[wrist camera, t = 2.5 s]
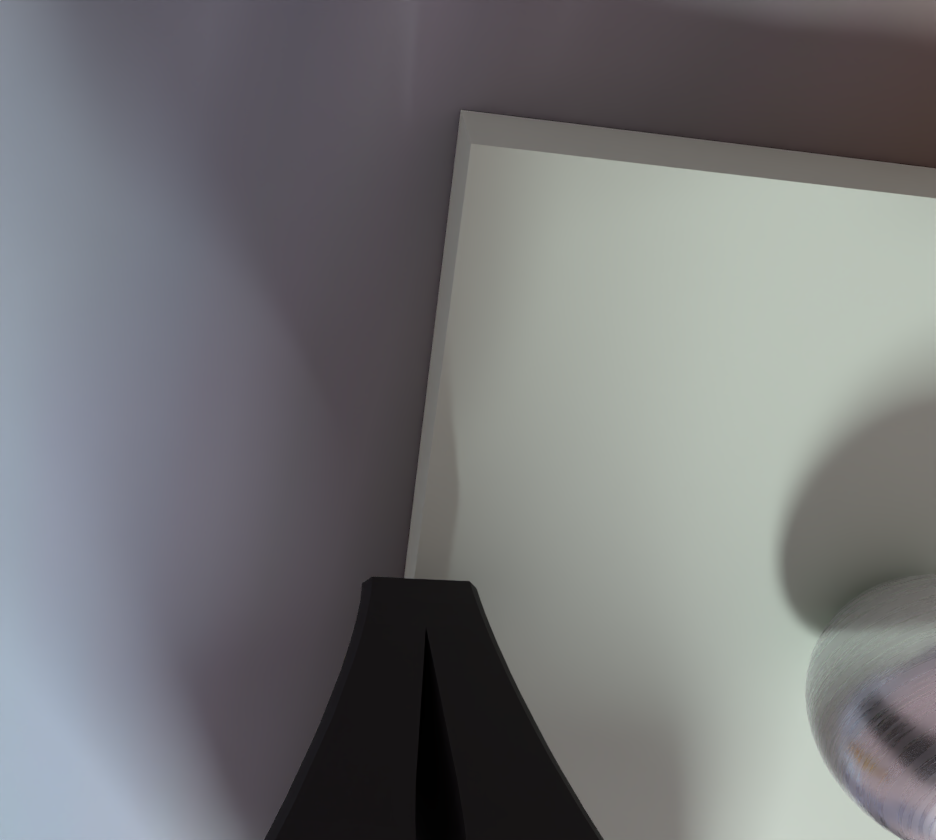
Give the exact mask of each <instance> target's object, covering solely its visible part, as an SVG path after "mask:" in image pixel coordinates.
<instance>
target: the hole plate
mask: <svg viewBox="0 0 936 840" xmlns="http://www.w3.org/2000/svg"><path fill="white" fill-rule="evenodd" d="M921 574H936V168H928V167H920V166H912V165H904V164H896V163H888V162H880V161H872V160H864V159H855V158H847V157H839V156H831V155H823V154H815V153H807V152H799V151H791V150H783V149H774V148H766V147H758V146H750V145H742V144H734V143H726V142H718V141H710V140H702V139H693V138H685V137H677V136H669V135H661V134H653V133H645V132H637V131H629V130H620V129H612V128H604V127H596V126H588V125H580V124H572V123H564V122H556V121H548V120H539V119H531V118H523V117H515V116H507V115H499V114H491V113H483V112H475V111H467V110H461V112H460V120H459V129H458V137H457V145H456V153H455V162H454V170H453V178H452V186H451V195H450V203H449V211H448V219H447V228H446V236H445V244H444V252H443V261H442V269H441V277H440V285H439V293H438V302H437V310H436V318H435V326H434V335H433V343H432V351H431V359H430V368H429V376H428V384H427V392H426V401H425V409H424V417H423V425H422V434H421V442H420V450H419V458H418V467H417V475H416V483H415V491H414V499H413V508H412V516H411V524H410V532H409V541H408V549H407V557H406V565H405V574H404V578H410V579H433V580H456V581H470V582H471V583H472V584H473V585H474V586H475V587H476V588H477V591H478V594H479V597H480V600H481V603H482V605H483V608H484V611H485V614H486V616H487V619H488V621H489V624H490V626H491V629H492V631H493V634H494V636H495V638H496V641H497V643H498V645H499V648H500V650H501V652H502V654H503V657H504V659H505V661H506V663H507V665H508V668H509V670H510V672H511V674H512V676H513V678H514V680H515V683H516V685H517V687H518V689H519V691H520V693H521V695H522V697H523V699H524V701H525V703H526V705H527V707H528V708H529V710H530V712H531V714H532V716H533V718H534V720H535V722H536V724H537V726H538V728H539V730H540V732H541V733H542V735H543V737H544V739H545V741H546V743H547V745H548V747H549V748H550V750H551V752H552V754H553V756H554V757H555V759H556V761H557V763H558V765H559V766H560V768H561V770H562V772H563V773H564V775H565V777H566V778H567V780H568V782H569V783H570V785H571V787H572V788H573V790H574V792H575V794H576V795H577V797H578V799H579V800H580V802H581V804H582V805H583V807H584V809H585V810H586V812H587V814H588V815H589V817H590V818H591V820H592V822H593V823H594V825H595V826H596V828H597V830H598V831H599V833H600V834H601V836H602V837H603V839H604V840H902V839H900V838H899V837H897V836H895V835H894V834H892V833H891V832H889V831H887V830H886V829H884V828H882V827H881V826H880V825H879V824H877V823H876V822H875V821H874V820H872V819H871V818H870V817H869V816H867V815H866V814H865V813H864V812H863V811H862V810H861V809H860V808H859V807H858V806H857V805H856V804H855V803H854V802H853V801H852V800H851V799H850V798H849V797H848V796H847V795H846V794H845V792H844V791H843V790H842V789H841V787H840V786H839V785H838V783H837V782H836V781H835V779H834V778H833V776H832V775H831V774H830V772H829V770H828V768H827V767H826V765H825V763H824V762H823V760H822V758H821V755H820V753H819V751H818V748H817V746H816V743H815V741H814V738H813V736H812V733H811V729H810V725H809V721H808V716H807V709H806V699H805V691H806V676H807V670H808V666H809V662H810V658H811V654H812V651H813V649H814V647H815V644H816V642H817V640H818V638H819V636H820V634H821V633H822V631H823V629H824V628H825V626H826V625H827V624H828V622H829V621H830V620H831V619H832V618H833V616H834V615H835V614H836V613H837V612H838V611H839V610H840V609H841V608H842V607H843V606H844V605H845V604H847V603H848V602H849V601H850V600H852V599H853V598H855V597H856V596H858V595H859V594H861V593H862V592H864V591H866V590H868V589H870V588H872V587H874V586H876V585H879V584H881V583H884V582H887V581H890V580H893V579H897V578H902V577H907V576H913V575H921Z"/></svg>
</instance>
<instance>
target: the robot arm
mask: <svg viewBox="0 0 936 840" xmlns="http://www.w3.org/2000/svg"><path fill="white" fill-rule="evenodd" d="M264 840H604V839H603V837H602V836H601V834H600V833H599V831H598V830H597V828H596V826H595V825H594V823H593V822H592V820H591V818H590V817H589V815H588V814H587V812H586V810H585V809H584V807H583V805H582V804H581V802H580V800H579V799H578V797H577V795H576V794H575V792H574V790H573V788H572V787H571V785H570V783H569V782H568V780H567V778H566V777H565V775H564V773H563V772H562V770H561V768H560V766H559V765H558V763H557V761H556V759H555V757H554V756H553V754H552V752H551V750H550V748H549V747H548V745H547V743H546V741H545V739H544V737H543V735H542V733H541V732H540V730H539V728H538V726H537V724H536V722H535V720H534V718H533V716H532V714H531V712H530V710H529V708H528V707H527V705H526V703H525V701H524V699H523V697H522V695H521V693H520V691H519V689H518V687H517V685H516V683H515V680H514V678H513V676H512V674H511V672H510V670H509V668H508V665H507V663H506V661H505V659H504V657H503V654H502V652H501V650H500V648H499V645H498V643H497V641H496V638H495V636H494V634H493V631H492V629H491V626H490V624H489V621H488V619H487V616H486V614H485V611H484V608H483V605H482V603H481V600H480V597H479V594H478V591H477V588H476V587H475V586H474V585H473V584H472V583H471V582H470V581H456V580H433V579H410V578H387V577H371V578H370V579H368V580H367V581H365V582H363V583H362V591H361V600H360V605H359V610H358V615H357V619H356V623H355V627H354V631H353V634H352V638H351V641H350V644H349V647H348V651H347V654H346V657H345V660H344V663H343V666H342V669H341V672H340V674H339V677H338V679H337V682H336V684H335V687H334V690H333V692H332V695H331V697H330V700H329V702H328V705H327V707H326V710H325V713H324V715H323V718H322V720H321V723H320V725H319V727H318V730H317V732H316V734H315V737H314V739H313V741H312V743H311V745H310V747H309V749H308V752H307V754H306V756H305V758H304V760H303V762H302V764H301V767H300V769H299V771H298V773H297V775H296V777H295V779H294V782H293V784H292V786H291V788H290V790H289V792H288V794H287V797H286V799H285V801H284V803H283V805H282V807H281V809H280V811H279V812H278V814H277V816H276V818H275V820H274V822H273V824H272V826H271V828H270V830H269V832H268V834H267V836H266V838H265V839H264Z"/></svg>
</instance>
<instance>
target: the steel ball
mask: <svg viewBox="0 0 936 840" xmlns="http://www.w3.org/2000/svg"><path fill="white" fill-rule="evenodd" d="M805 699H806V709H807V716H808V721H809V725H810V729H811V733H812V736H813V738H814V741H815V743H816V746H817V748H818V751H819V753H820V755H821V758H822V760H823V762H824V763H825V765H826V767H827V768H828V770H829V772H830V774H831V775H832V776H833V778H834V779H835V781H836V782H837V783H838V785H839V786H840V787H841V789H842V790H843V791H844V792H845V794H846V795H847V796H848V797H849V798H850V799H851V800H852V801H853V802H854V803H855V804H856V805H857V806H858V807H859V808H860V809H861V810H862V811H863V812H864V813H865V814H866V815H867V816H869V817H870V818H871V819H872V820H874V821H875V822H876V823H877V824H879V825H880V826H881V827H882V828H884V829H886V830H887V831H889V832H891V833H892V834H894V835H895V836H897V837H899V838H900V839H902V840H936V574H921V575H913V576H907V577H902V578H897V579H893V580H890V581H887V582H884V583H881V584H879V585H876V586H874V587H872V588H870V589H868V590H866V591H864V592H862V593H861V594H859V595H858V596H856V597H855V598H853V599H852V600H850V601H849V602H848V603H847V604H845V605H844V606H843V607H842V608H841V609H840V610H839V611H838V612H837V613H836V614H835V615H834V616H833V618H832V619H831V620H830V621H829V622H828V624H827V625H826V626H825V628H824V629H823V631H822V633H821V634H820V636H819V638H818V640H817V642H816V644H815V647H814V649H813V651H812V654H811V658H810V662H809V666H808V670H807V676H806V691H805Z"/></svg>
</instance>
